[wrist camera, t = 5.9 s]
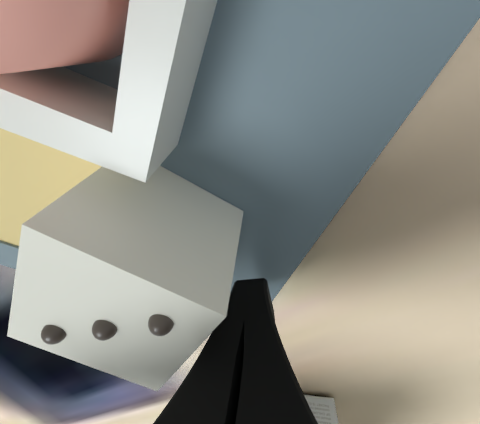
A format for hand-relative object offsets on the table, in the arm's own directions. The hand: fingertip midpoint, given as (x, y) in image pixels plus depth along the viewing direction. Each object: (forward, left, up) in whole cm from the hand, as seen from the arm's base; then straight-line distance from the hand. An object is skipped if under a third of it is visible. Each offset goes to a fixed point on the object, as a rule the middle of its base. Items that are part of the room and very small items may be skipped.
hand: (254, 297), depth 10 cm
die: (+4, -1, -1) cm, 4 cm away
